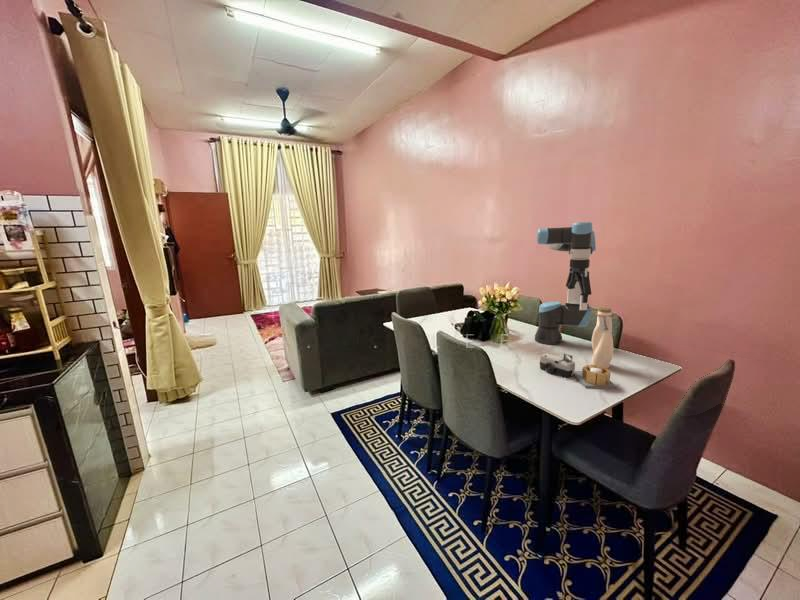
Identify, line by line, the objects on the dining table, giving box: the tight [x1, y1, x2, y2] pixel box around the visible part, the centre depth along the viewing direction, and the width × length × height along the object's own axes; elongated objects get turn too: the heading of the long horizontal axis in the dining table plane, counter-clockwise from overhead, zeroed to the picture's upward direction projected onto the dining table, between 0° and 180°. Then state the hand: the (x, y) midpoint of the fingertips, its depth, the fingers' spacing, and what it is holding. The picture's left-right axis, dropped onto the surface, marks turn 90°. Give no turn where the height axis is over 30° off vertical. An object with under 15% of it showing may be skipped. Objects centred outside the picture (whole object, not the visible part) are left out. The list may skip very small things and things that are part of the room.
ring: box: [581, 364, 612, 386], centre depth 138 cm, size 10×10×5 cm
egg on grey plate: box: [573, 368, 617, 389], centre depth 141 cm, size 15×12×6 cm
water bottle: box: [590, 307, 615, 369], centre depth 153 cm, size 10×9×28 cm
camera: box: [539, 352, 576, 379], centre depth 150 cm, size 15×8×10 cm, turn 32°
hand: (576, 306), depth 144 cm, fingers open, 13 cm apart
